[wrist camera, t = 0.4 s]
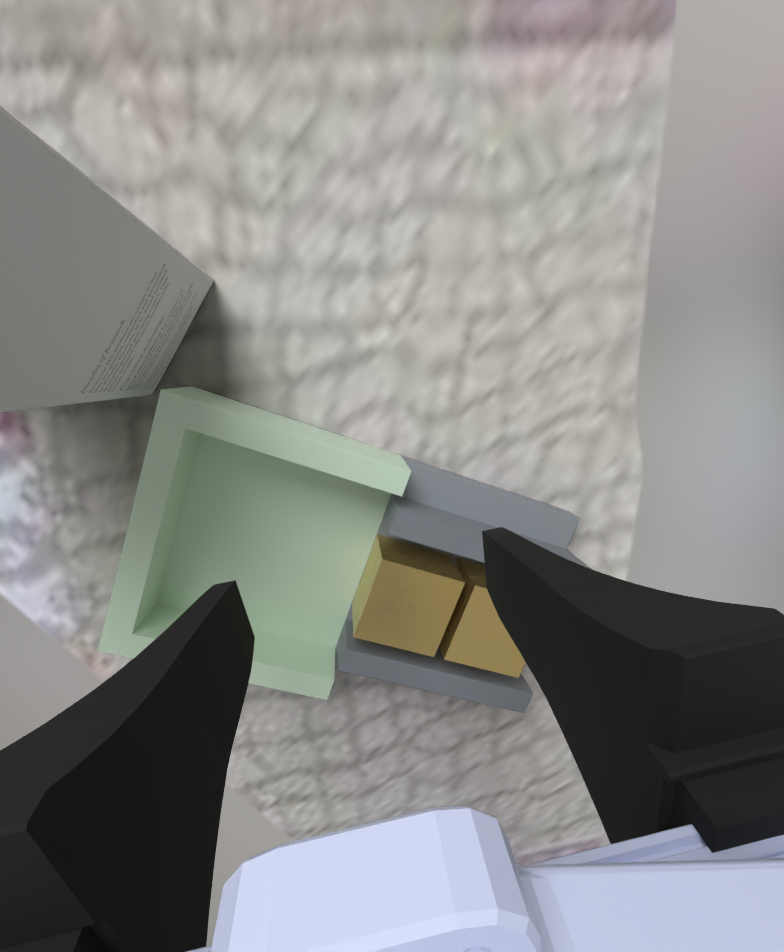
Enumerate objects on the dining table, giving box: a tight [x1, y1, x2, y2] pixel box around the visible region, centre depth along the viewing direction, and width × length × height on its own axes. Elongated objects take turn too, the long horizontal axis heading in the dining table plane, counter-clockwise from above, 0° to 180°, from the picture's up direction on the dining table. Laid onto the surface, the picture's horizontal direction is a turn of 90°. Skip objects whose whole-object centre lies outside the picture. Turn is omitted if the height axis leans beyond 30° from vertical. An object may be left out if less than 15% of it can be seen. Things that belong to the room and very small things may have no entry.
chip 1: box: [352, 534, 465, 657], centre depth 21 cm, size 4×4×3 cm
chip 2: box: [439, 558, 526, 678], centre depth 22 cm, size 4×4×3 cm
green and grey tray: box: [98, 386, 591, 713], centre depth 21 cm, size 12×20×4 cm, turn 71°
